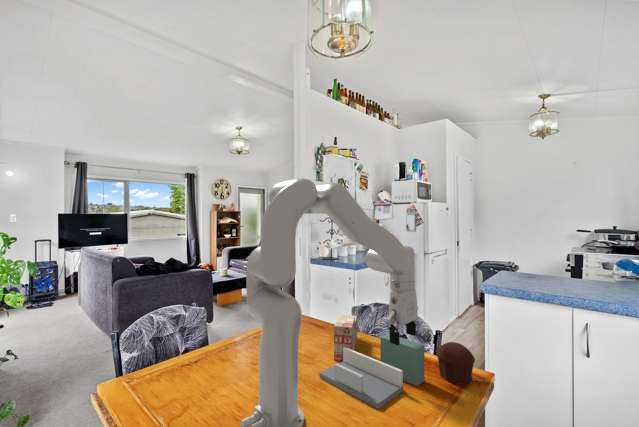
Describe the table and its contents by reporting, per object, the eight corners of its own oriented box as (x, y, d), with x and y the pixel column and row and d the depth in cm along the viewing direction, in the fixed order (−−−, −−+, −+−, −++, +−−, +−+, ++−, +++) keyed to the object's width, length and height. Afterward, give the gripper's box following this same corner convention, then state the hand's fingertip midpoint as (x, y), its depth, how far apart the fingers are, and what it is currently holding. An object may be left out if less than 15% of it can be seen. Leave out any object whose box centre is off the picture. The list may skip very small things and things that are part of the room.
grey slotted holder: (378, 409, 82) (378, 386, 82) (319, 377, 98) (319, 358, 98) (403, 390, 91) (403, 369, 91) (345, 364, 107) (345, 346, 107)
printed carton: (342, 337, 131) (342, 307, 131) (357, 338, 129) (357, 308, 129) (333, 360, 110) (333, 325, 110) (351, 362, 108) (351, 326, 108)
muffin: (481, 387, 93) (481, 353, 93) (443, 386, 93) (443, 352, 93) (465, 368, 104) (465, 337, 104) (431, 366, 105) (431, 336, 105)
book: (417, 386, 93) (417, 349, 93) (380, 370, 103) (380, 336, 103) (424, 380, 96) (424, 345, 96) (388, 366, 106) (388, 333, 106)
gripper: (397, 292, 91) (398, 351, 91) (426, 282, 103) (427, 334, 103) (376, 288, 96) (377, 343, 96) (406, 279, 108) (406, 328, 109)
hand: (403, 339), depth 100 cm, fingers open, 9 cm apart
